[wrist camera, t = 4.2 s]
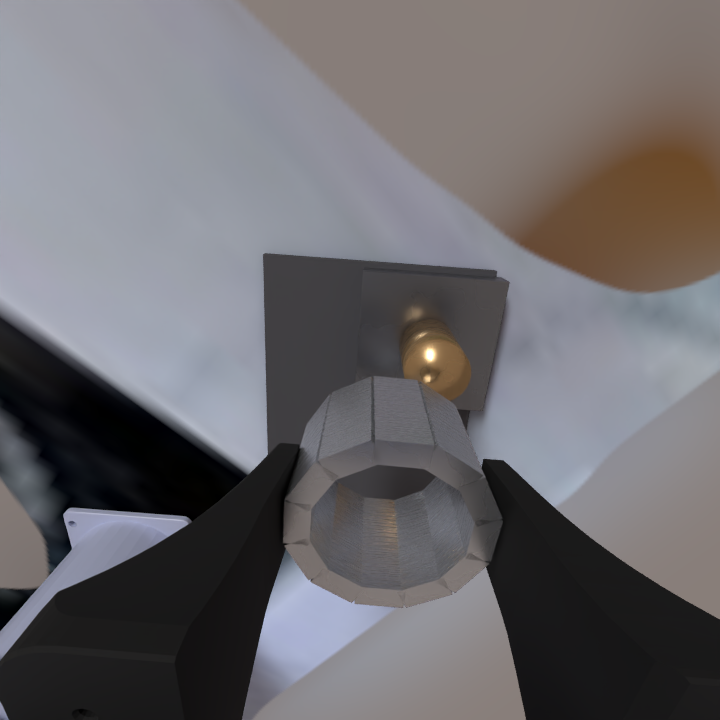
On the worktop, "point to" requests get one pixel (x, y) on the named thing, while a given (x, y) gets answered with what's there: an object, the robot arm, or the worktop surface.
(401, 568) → the ring
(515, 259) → the worktop surface
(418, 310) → the doorknob
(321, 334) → the mat
